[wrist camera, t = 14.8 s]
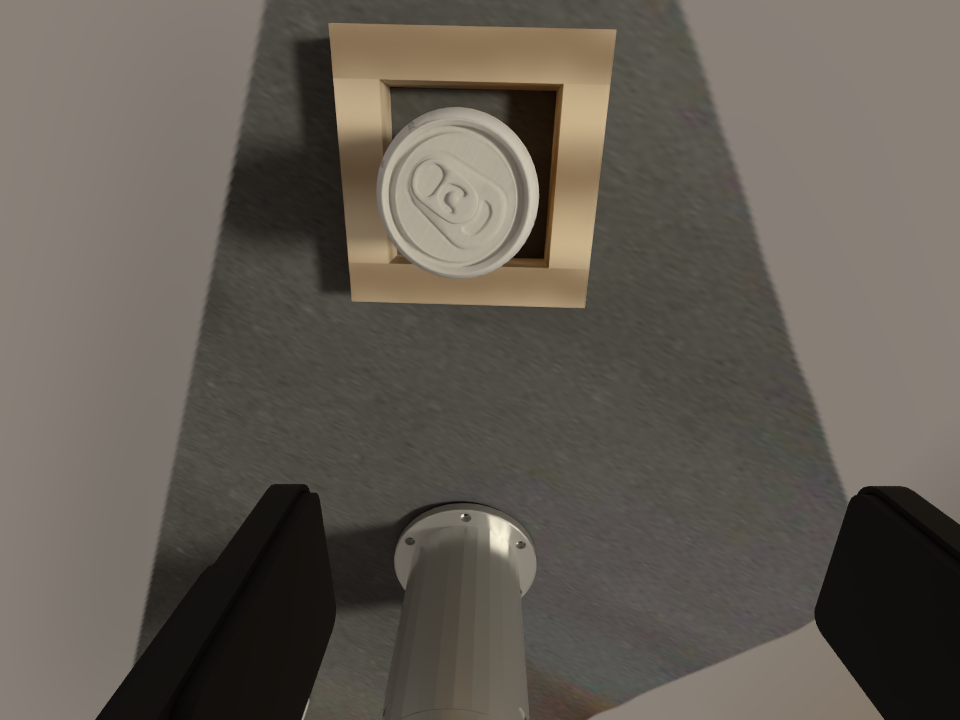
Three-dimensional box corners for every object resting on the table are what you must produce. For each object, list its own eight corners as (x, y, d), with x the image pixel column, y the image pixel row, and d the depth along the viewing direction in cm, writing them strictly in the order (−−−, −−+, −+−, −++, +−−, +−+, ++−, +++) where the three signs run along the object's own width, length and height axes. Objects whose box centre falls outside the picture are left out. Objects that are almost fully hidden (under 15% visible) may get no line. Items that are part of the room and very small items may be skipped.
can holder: (576, 295, 33) (584, 308, 31) (363, 289, 33) (352, 301, 31) (603, 42, 27) (616, 29, 25) (344, 36, 28) (328, 23, 25)
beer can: (479, 248, 32) (470, 317, 18) (405, 189, 31) (336, 215, 17) (538, 173, 30) (578, 186, 16) (462, 106, 29) (437, 59, 15)
